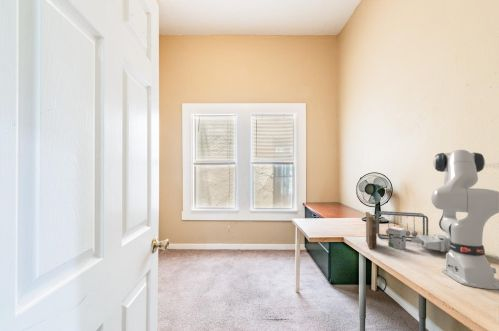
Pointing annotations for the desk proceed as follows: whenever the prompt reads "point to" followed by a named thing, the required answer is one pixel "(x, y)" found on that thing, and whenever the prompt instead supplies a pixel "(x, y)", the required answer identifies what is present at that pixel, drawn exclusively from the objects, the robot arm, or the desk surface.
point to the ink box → (397, 238)
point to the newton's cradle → (400, 220)
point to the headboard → (371, 231)
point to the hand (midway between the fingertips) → (411, 240)
